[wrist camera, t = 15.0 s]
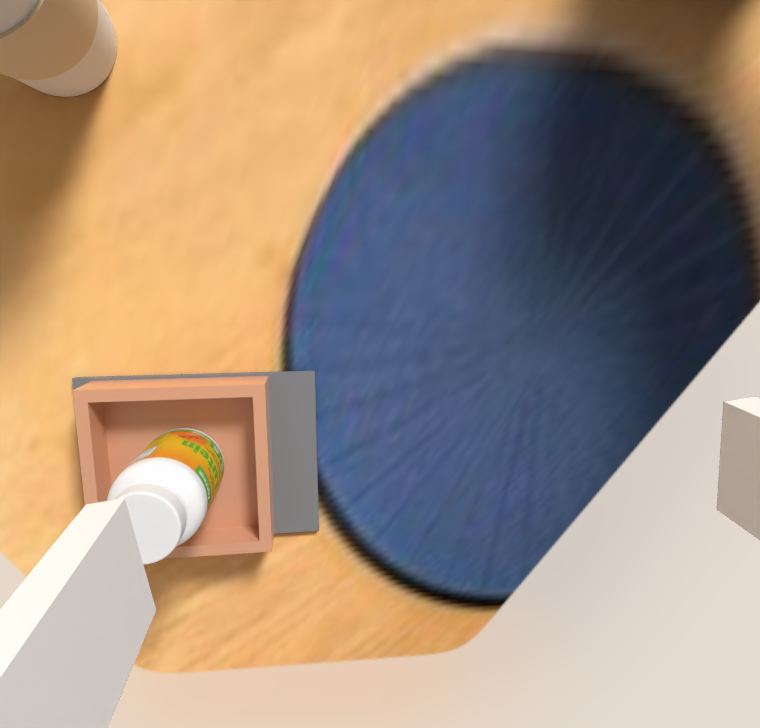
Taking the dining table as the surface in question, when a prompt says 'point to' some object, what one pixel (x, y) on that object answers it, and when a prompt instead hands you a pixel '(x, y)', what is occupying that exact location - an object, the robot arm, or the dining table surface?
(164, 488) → the supplement bottle
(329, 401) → the dining table surface
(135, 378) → the mat
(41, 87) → the coffee cup
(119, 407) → the dish
